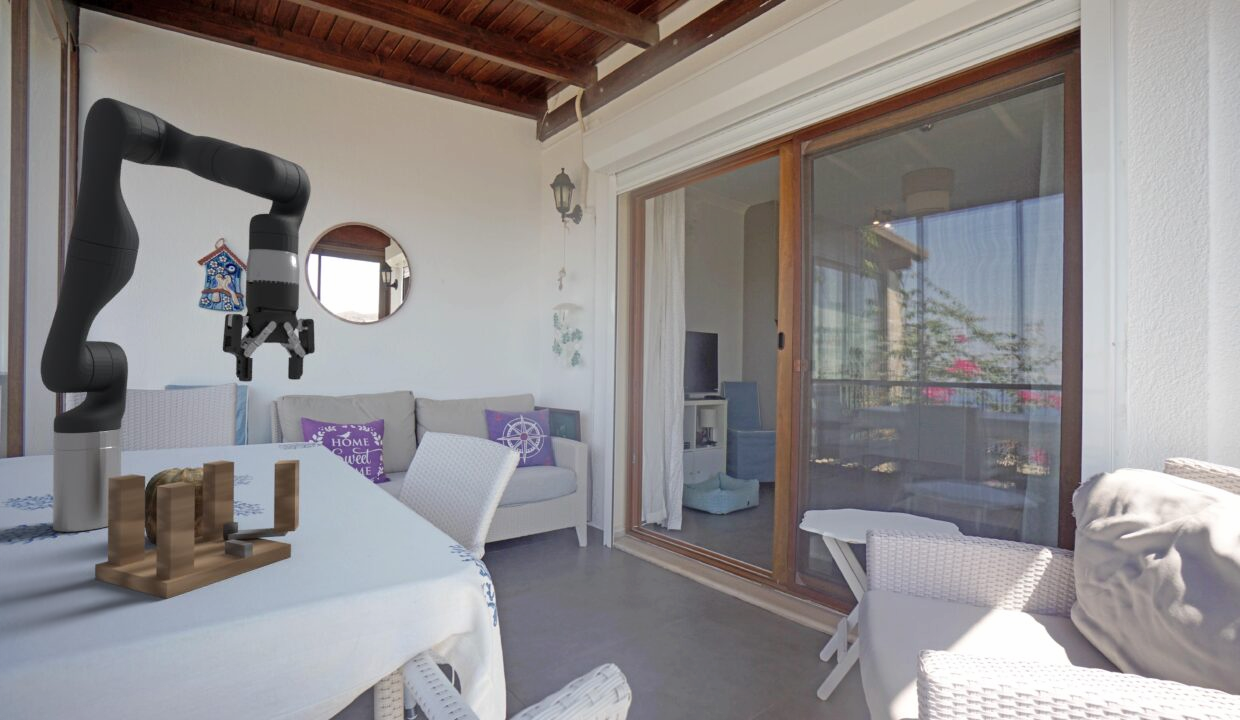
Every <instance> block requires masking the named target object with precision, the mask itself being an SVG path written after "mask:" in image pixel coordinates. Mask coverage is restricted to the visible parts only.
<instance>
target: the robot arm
mask: <svg viewBox="0 0 1240 720" xmlns="http://www.w3.org/2000/svg"><path fill="white" fill-rule="evenodd" d="M123 160H125V161H128V162H131V163H136V164H139V165H144V166H146V165H147V166H156V167H157V166H158V167H167V168H176V169H182V170H185V171H188V172H191V173H192V174H194V175H195V176H198V177H200V178H202V179H205V180H208V181H210V182H213V183H216V184H219V185H222V186H225V187H229V188H234V189H237V190H240V191H242V192H244V193H247V194H249V195H253V196H255V197H258V198H262V199H265V200H268V201H272V203H271V207H270V210H269V212H268V213H258V214H255V215H253V216H252V217H251V218H250V221H249V227H248V255H247V259H246V267H245V268H246V272H245V273H246V274H245V275H246V276H245V305H244V306H245V307H246V309H247V311H246V314H245V315H242V314H241V313H227V314H225V317H224V326H223V340H222V351H223V352H224V353H226V354H227V353H228V354H231V355H232V356H234V357H235V358H236V361H235V364H236V366H235V367H236V368H235V370H236V371H235V375H236V377H237V378H238V381H240V382H245V383H246V382H252V381H253V357H251V356H252V355H253V353H254V352H255V350H257V349H258V348H259V347H260V346H262V344H263V343H264V344H265V343H266V344H280V346H281V347H283V348H284V349H285V350H286V352H287V353H288V354H289V356H290V357H288V367H287V369H288V371H287V373H288V374H287V377H288V379H289V380H295V381H296V380H297V381H298V380H301V377H302V376H303V374H304V358H305V357H306V356H308V355H310V354H314V353H315V351H316V350H315V349H316V348H315V343H316V342H315V321H314V319H313V318H299V319H298V317H297V311H298V310H299V307H300V306H299V304H300V302H299V301H300V298H299V297H300V274H301V273H300V261H299V238H300V237H299V236H300V235H299V233H300V232H299V231H300V228H301V225H302V222H303V220H304V217H305V212H306V210H307V207H308V204H309V201H310V198H311V191H312V189H311V188H312V187H311V180H310V178H309V175H308V173H307V172H306V170H305V169H304V168H303V167H302V166H301V165H299V164H297V163H295V162H292V161H290V160H287V159H285V158H282V157H279V156H277V155H275V154H272V153H271V152H266V151H263V150H259V149H255V148H252V147H246V146H242V145H239V144H236V143H233V142H230V141H226V140H223V139H220V138H216V137H211V136H205V135H194V134H192V133H189V132H187V131H184V130H182V128H181V129H180V128H179V127H178V126H175V125H173V124H172V123H170V122H168V121H167V120H164V119H163V118H161V117H159V116H158V115H156V114H154V113H153V112H151V111H147V110H144V109H142V108H139V107H136V106H134V105H131V104H129V103H126V102H123V101H121V100H118V99H115V98H111V97H102V98H99V99H97V100H96V101H95V102H93V104H92V105H91V106H90V108H89V110H88V112H87V115H86V118H85V123H84V129H83V140H82V154H81V168H80V169H81V171H80V181H79V182H80V183H79V191H78V196H77V201H76V208H75V213H74V219H73V222H72V227H71V230H70V231H71V232H70V235H69V236H70V237H69V240H68V247H67V251H66V255H65V257H66V258H65V265H64V270H63V271H64V272H63V277H62V282H61V288H60V293H59V297H58V301H57V305H56V308H55V312H54V316H53V319H52V322H51V326H50V328H49V331H48V334H47V338H46V342H45V343H44V348H43V350H42V355H41V359H40V377H41V381H42V383H43V386H45V389H47V390H48V391H50V392H52V393H55V394H56V393H57V394H73V393H74V394H76V393H79V394H81V393H86V395H85V398H84V400H83V401H82V402H81V403H80V404H78V405H76V406H75V407H74V408H70V409H69V410H65V411H63V412H61V413H59V414H57V415H55V417H54V418H53V445H52V446H53V470H52V471H53V478H52V479H53V481H52V487H53V488H52V503H53V504H52V530H54V531H56V532H66V533H67V532H82V531H90V530H91V531H92V530H97V529H101V528H105V527H108V478H112V477H118V476H122V420H123V417H124V415H125V412H126V405H127V391H128V378H129V363H128V358H127V355H126V352H125V350H124V349H123V348H122V346H120V345H119V344H118V343H116V342H113V341H101V340H97V341H96V340H87V339H88V336H89V332H90V329H91V327H92V326H93V322H94V320H95V319H96V317H97V316H98V315H99V314H100V312H101V311H102V310H103V308H104V307H105V306H107V304H108V303H109V302H111V301H112V300H113V299H114V298H115V297H116V296H117V295H118V294H119V293H120V292H121V291H122V290H124V289H123V288H125V287H126V285H127V284H128V283H129V282H130V281H131V279H132V277H133V274H134V273H135V269H136V263H137V257H138V253H139V247H140V236H139V233H138V229H137V226H136V224H135V220H133V217H132V215H131V212H130V211H129V208H128V206H127V203H126V202H125V199H124V196H123V193H122V188H121V187H122V186H121V174H122V164H123ZM245 326H246V327H247V329H248V330H247V332H246V333H245V334H244V336H243V329H244V328H245ZM296 330H297V333H298V334H296V332H295V331H296ZM297 335H298V336H297Z"/></svg>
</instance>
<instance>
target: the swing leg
mask: <svg viewBox="0 0 1240 720" xmlns="http://www.w3.org/2000/svg"><path fill="white" fill-rule="evenodd" d="M273 476H274V481H273V482H274V489H273V494H274V495H273V496H274V497H273V498H274V499H273V501H274V502H273V527H268V528H266V527H265V528H254V529H253V528H252V529H251V528H250V529H249V528H248V529H239V522H238V521H234V522H229V523H225V524H223V539H228V540H232V539H248V538H262V539H265V538H277V537H278V538H279V537H286V535H287V534H288V533H289V532H295V531H297V529H298V528H299V526H300V459H294V460H293V459H291V460H288V459H287V460H278V461H277V462H275V463H274V475H273Z"/></svg>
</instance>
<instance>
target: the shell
mask: <svg viewBox="0 0 1240 720" xmlns="http://www.w3.org/2000/svg"><path fill="white" fill-rule="evenodd" d="M177 482H185V483H192V484H195V523H194V538H198V537H202V536H203V467H198V466H197V467H195V468H191V467H185V468H183V469H181V468H179V467H175V468H170V469H166V470H165V469H164V470H162V471H159V472H158V473H156V474H154V475H153V476H152V477H151V478H150V479H149V480H148V482H147V484H146V485H145V535H146V537H147V539H148V540H149V541H150V543H152V544H156V545H157V486H160V485H166V484H171V483H177Z"/></svg>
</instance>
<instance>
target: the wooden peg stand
mask: <svg viewBox="0 0 1240 720" xmlns="http://www.w3.org/2000/svg"><path fill="white" fill-rule="evenodd" d="M202 466H203V467H202V468H203V536H202V537H198V538H194V523H195V484H192V483H185V482H177V483H171V484H166V485H160V486H157V544H156V547H155V548H152V549H148V550H145V547H146V544H145V543H146V531H145V489H146V476H145V475H139V474H134V473H133V474H132V473H131V474H127V475H126V474H125V475H121V476H118V477H112V478H108V526H107V561H103V562H99V563H96V564H94V565H95V567H94V572H95V573H94V579H95V580H98V579H99V580H98V581H102V582H105V583H110V584H113V585H117V586H120V587H124V588H127V589H131V590H134V591H138V592H141V593H145V594H148V595H152V596H155V597H160V598H163V599H166V600H167V599H170V598H173V597H176V596H179V595H182V594H186V593H187V592H191V591H194V590H196V589H199V588H202V587H206V586H208V585H212V584H214V583H218V582H220V581H223V580H226V579H229V578H232V577H236V576H238V575H241V573H242V574H244V573H247V571H248V572H251V571H254V570H257V569H260V568H262V567H265V566H268V565H271V564H274V563H277V562H280V561H283V560H286V559H288V558H291V557H292V544H291V543H286V542H282V541H277V540H273V539H266V538H248V539H232V540H228V539H223V524H225V523H229V522H235V521H234V519H235V517H234V516H235V515H234V514H235V511H234V509H235V507H234V505H235V504H234V503H235V495H234V494H235V462H234V461H229V460H221V459H220V460H215V461H211V462H210V461H209V462H204V463H203V465H202ZM253 569H254V570H253Z"/></svg>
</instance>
